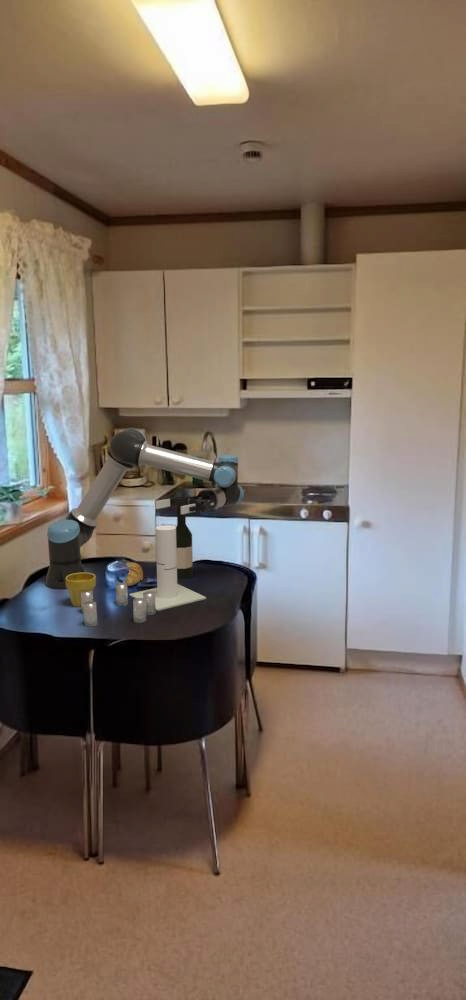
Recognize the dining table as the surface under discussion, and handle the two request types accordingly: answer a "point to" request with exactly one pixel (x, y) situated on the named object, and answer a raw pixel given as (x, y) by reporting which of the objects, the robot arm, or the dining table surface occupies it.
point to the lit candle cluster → (139, 604)
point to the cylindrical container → (166, 561)
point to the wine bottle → (183, 547)
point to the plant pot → (79, 585)
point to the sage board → (181, 599)
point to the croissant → (134, 574)
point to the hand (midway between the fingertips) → (168, 507)
